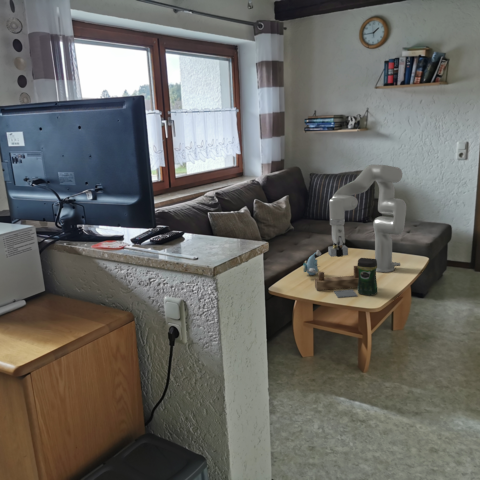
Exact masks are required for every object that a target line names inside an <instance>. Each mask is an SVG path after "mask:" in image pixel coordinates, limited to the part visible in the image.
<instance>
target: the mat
mask: <svg viewBox="0 0 480 480" xmlns="http://www.w3.org/2000/svg"><path fill="white" fill-rule="evenodd" d="M333 294H335V296H336V297H337V298H338V299H341V298H352V297H353V298H354V297H356V298H357V297H358V296H359V295H358V294H357V293H356V291H355V290H354V288H351V289H338V290H333Z"/></svg>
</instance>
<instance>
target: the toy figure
mask: <svg viewBox="0 0 480 480" xmlns="http://www.w3.org/2000/svg"><path fill="white" fill-rule="evenodd" d="M315 255H316V256H318V257H319V256H321V255H322V252H321V251H320V250H319V249H317V250H316V252H314V253H313V254H312V255H310V256H309V258H308V259H307V260H305V261H304V262H303V265H302V266H303V268H302V269H303V273H307V275H310V276H315V275H317V274H318V273H319V272H320V271H319V267H321V265H319V264H318V259H316V256H315Z"/></svg>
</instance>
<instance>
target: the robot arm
mask: <svg viewBox="0 0 480 480" xmlns="http://www.w3.org/2000/svg"><path fill="white" fill-rule="evenodd" d="M402 179H403V171H402V169H401V168H400V167H397V166H393V165H392V166H391V165H388V164H387V165H386V164H368V165H367V166H366V167H365V168H363V170H362V171H361V172H360V173H359V175H358V176H357V177H356V178H355V179H354V180H353V181H351V182H348V183H346V184H344V185H342V186H340V187H339V188H338V189H337V190H336V192H335V193H334V194H333V196H332V197H331V198H330V199H329V203H328V205H329V225H330V226H331V240H332V242H333V244H332V246H333V245H337V249H336V252H337V256H336V257H337V258H341V257H344V256H343V246H342V245H345V243H346V238H345V237H346V235H345V227H344V225H345V212H346V211H352V210H355V209H356V208H358V203H359V202H358V198H357V197H355V196H354V195H358V194H362V193H365V192H366V191H368V190H369V189H370V187H371V186H372V185H373V184H374V182H376V183H377V186H378V189H379V191H378V200H377V201H378V202H377V211H378V212H379V213H380V214H382V215H387V216H381V215H380V216H378V217H375V218H374V220H373V224H372V226H373V231H374V257H375V258H374V259H376V260H377V269H376V273H377V272H378V273H391V272H394V271H395V267H401V262H398V261H394V262H393V239H392V238H393V237H392V236H391V235H394V236H399V235H401V234H403V232H404V230H405V225H406V216H407V215H406V214H407V204H406V202H405V200H404V199H402V198H395V193H396V192H395V191H396V189H395V185H394V183H395V184H396V183H399V182H401V180H402ZM388 215H389V216H388ZM391 216H393V217H391Z"/></svg>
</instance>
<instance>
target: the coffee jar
mask: <svg viewBox="0 0 480 480" xmlns="http://www.w3.org/2000/svg"><path fill="white" fill-rule="evenodd" d="M356 266H357V268H358V271H359V280H358V288H357V293H358V294H359V295H363V296H375V295H377V293H378V291H379V290H378V283H377V271H376V269H377V260H376V259H375V258H368V257H360V258H358V260H357V265H356Z"/></svg>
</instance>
